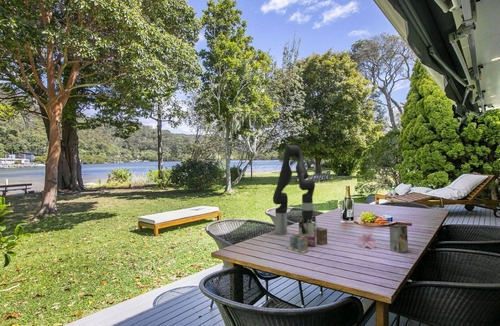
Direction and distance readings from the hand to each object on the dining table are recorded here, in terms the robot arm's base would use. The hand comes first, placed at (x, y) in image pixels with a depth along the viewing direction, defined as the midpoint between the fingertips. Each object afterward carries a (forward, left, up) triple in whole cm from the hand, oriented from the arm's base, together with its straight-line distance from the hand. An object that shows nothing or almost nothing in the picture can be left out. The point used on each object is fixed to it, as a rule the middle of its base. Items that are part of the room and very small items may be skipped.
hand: (307, 232), depth 193 cm
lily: (+26, +29, -10) cm, 40 cm away
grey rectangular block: (0, 0, -10) cm, 10 cm away
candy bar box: (0, 0, -9) cm, 9 cm away
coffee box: (+43, +37, -10) cm, 58 cm away
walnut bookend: (0, +10, -8) cm, 13 cm away
